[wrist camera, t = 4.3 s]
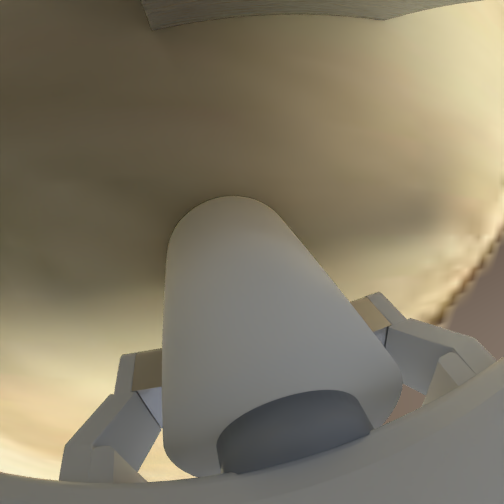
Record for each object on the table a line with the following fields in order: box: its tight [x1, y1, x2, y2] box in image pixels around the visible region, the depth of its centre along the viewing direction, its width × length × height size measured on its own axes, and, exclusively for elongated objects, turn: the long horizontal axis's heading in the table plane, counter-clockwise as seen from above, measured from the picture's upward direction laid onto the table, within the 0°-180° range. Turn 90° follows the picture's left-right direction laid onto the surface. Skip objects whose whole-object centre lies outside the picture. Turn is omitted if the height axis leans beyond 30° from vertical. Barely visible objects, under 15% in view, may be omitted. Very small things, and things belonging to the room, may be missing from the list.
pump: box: [162, 196, 403, 477], centre depth 9 cm, size 5×5×9 cm
